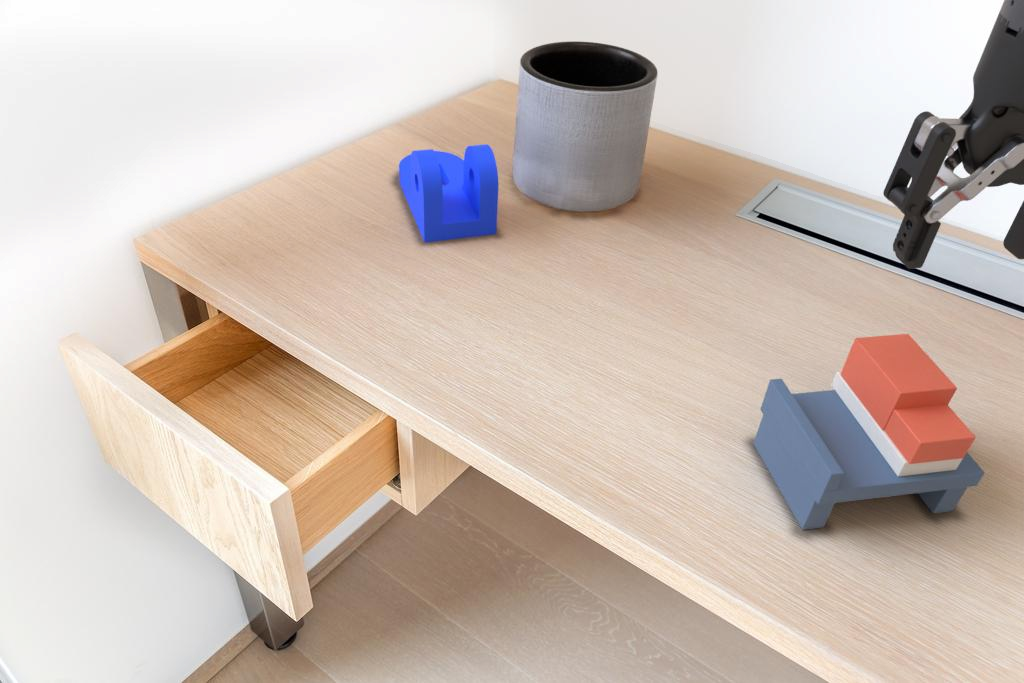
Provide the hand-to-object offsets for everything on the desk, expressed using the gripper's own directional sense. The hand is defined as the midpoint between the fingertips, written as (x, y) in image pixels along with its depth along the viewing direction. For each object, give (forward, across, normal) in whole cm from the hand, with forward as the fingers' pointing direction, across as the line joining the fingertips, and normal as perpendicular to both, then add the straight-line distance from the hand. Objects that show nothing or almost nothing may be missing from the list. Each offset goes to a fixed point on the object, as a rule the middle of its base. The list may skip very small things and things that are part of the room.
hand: (961, 257), depth 55 cm
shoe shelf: (+19, +4, +3) cm, 19 cm away
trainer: (+14, +2, +2) cm, 14 cm away
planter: (+19, +14, -47) cm, 53 cm away
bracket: (+19, +31, -45) cm, 58 cm away
